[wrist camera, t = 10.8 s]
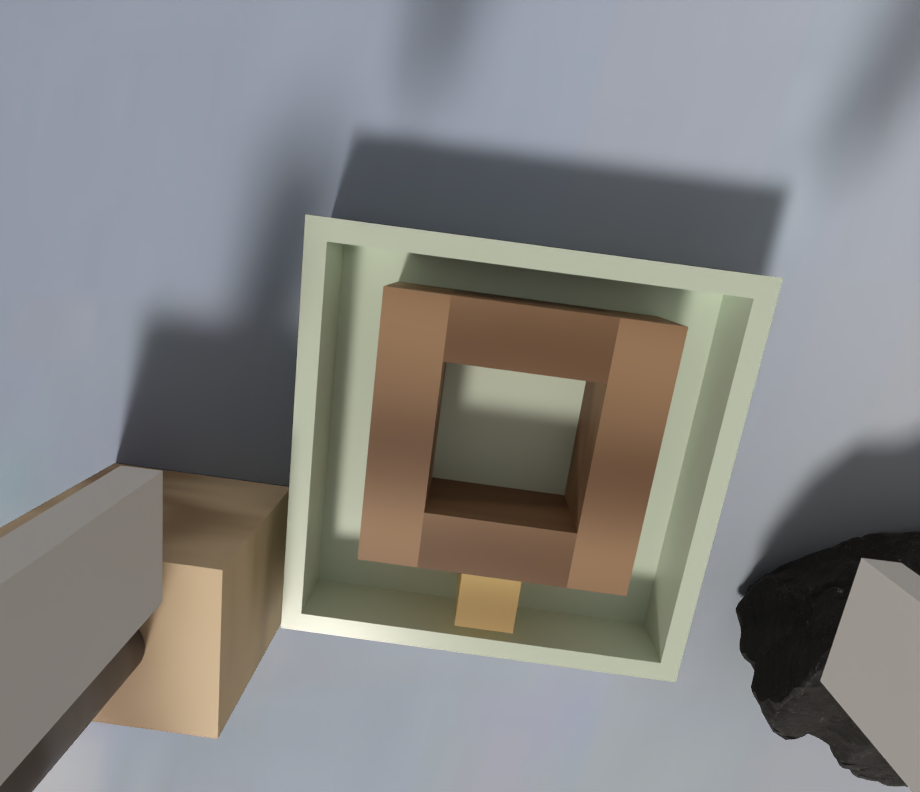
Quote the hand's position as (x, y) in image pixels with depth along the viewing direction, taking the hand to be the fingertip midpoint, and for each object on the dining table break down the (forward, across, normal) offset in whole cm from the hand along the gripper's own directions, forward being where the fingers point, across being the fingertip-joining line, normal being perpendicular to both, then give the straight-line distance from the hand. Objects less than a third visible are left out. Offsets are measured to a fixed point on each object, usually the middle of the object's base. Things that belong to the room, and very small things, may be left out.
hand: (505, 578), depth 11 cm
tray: (+11, +1, -1) cm, 11 cm away
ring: (+10, +1, 0) cm, 10 cm away
